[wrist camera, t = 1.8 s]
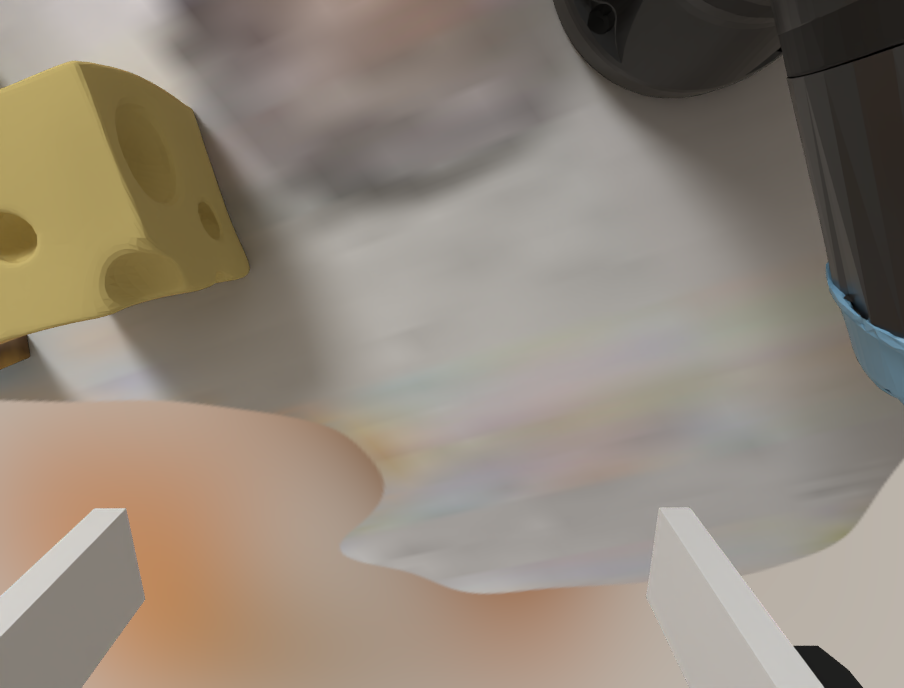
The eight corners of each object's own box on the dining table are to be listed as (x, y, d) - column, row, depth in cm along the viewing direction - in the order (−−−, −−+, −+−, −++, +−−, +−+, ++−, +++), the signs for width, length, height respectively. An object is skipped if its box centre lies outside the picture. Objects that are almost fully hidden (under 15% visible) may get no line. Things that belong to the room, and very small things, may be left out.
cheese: (256, 271, 33) (180, 307, 23) (94, 310, 33) (-46, 361, 24) (195, 93, 30) (79, 50, 20) (18, 138, 30) (-179, 117, 21)
